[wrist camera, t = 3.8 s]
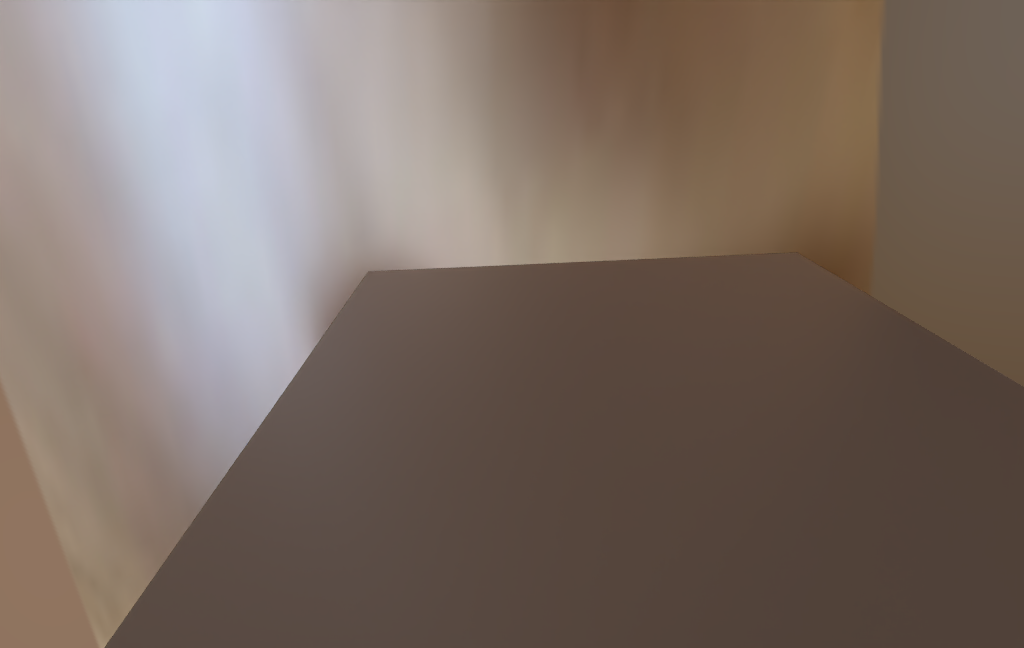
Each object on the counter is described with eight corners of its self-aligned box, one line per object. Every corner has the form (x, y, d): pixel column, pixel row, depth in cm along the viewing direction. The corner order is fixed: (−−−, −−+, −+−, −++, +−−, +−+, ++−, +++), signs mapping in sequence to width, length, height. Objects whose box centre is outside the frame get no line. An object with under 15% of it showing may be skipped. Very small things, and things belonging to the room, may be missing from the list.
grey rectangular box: (734, 555, 13) (1134, 1383, 5) (419, 569, 13) (274, 1412, 5) (797, 252, 9) (2647, 1347, 1) (368, 271, 9) (-460, 1449, 1)
